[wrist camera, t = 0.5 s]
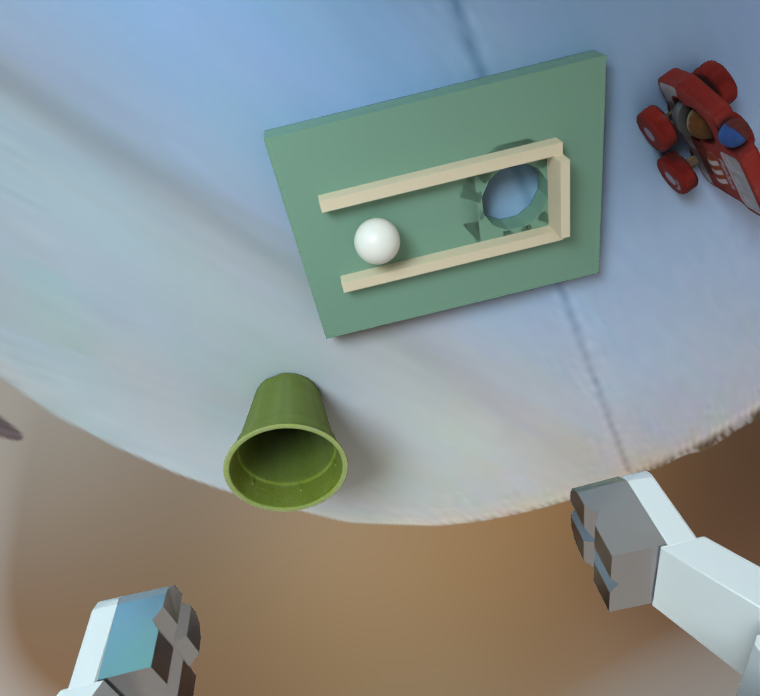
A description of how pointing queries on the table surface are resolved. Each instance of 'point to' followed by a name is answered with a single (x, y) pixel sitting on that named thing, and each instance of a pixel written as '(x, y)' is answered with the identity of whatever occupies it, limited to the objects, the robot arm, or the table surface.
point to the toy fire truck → (704, 134)
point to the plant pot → (286, 449)
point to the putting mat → (447, 192)
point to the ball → (377, 241)
